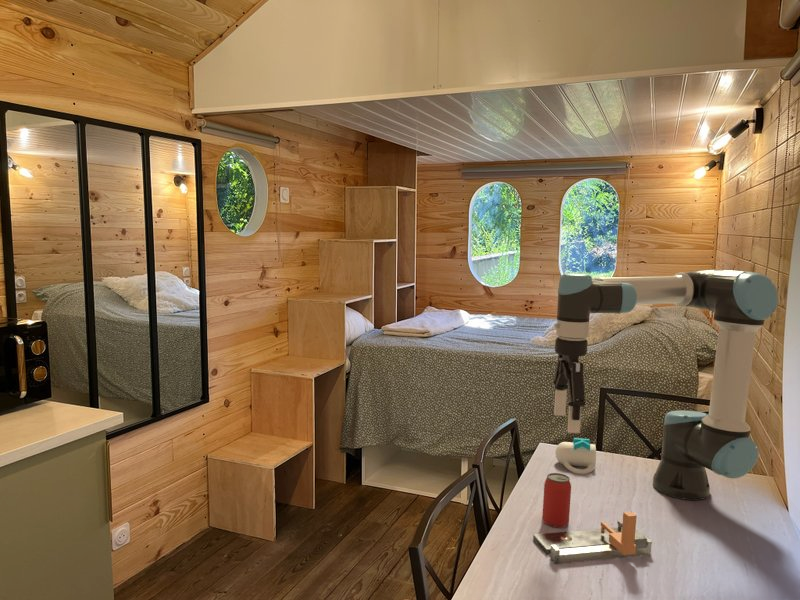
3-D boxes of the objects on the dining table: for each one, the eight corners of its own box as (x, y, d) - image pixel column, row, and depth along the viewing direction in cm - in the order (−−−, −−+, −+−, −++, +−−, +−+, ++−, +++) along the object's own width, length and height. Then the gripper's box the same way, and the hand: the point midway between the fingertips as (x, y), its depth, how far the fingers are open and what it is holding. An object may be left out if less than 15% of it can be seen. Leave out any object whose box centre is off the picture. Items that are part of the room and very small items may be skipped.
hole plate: (622, 531, 152) (623, 526, 152) (639, 545, 145) (640, 540, 145) (533, 539, 146) (533, 534, 146) (546, 554, 140) (546, 549, 140)
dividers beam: (628, 536, 149) (630, 519, 149) (651, 555, 141) (652, 537, 140) (537, 544, 144) (538, 527, 144) (555, 564, 135) (556, 546, 135)
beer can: (569, 530, 152) (572, 483, 150) (542, 526, 153) (545, 480, 152) (567, 518, 158) (570, 473, 157) (541, 515, 159) (544, 470, 158)
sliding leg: (607, 531, 148) (609, 493, 147) (635, 556, 137) (638, 515, 136) (595, 532, 147) (598, 494, 146) (623, 557, 136) (626, 516, 135)
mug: (556, 431, 196) (595, 435, 194) (553, 452, 201) (591, 456, 199) (558, 457, 186) (599, 461, 184) (555, 479, 191) (595, 483, 189)
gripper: (544, 329, 160) (540, 408, 162) (569, 347, 135) (563, 440, 137) (573, 330, 160) (568, 409, 162) (603, 348, 135) (597, 441, 137)
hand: (566, 423), depth 150 cm, fingers open, 13 cm apart
